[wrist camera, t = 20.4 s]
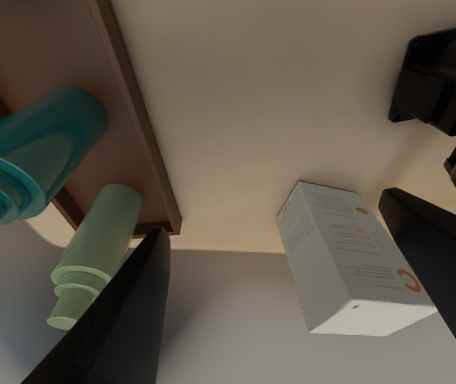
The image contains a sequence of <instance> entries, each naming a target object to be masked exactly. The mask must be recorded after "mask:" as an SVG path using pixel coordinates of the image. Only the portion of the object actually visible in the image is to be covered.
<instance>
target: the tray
mask: <svg viewBox="0 0 456 384" xmlns="http://www.w3.org/2000/svg"><path fill="white" fill-rule="evenodd" d="M60 86H70V87H75V88H78V89H81V90H83V91H85V92H87V93H88V94H90V95H91V96H92V97H94V98H95V99H96V100H97V101H98V102H99V103H100V105H101V106H102V108H103V109H104V111H105V113H106V116H107V120H108V127H107V131H106V133H105V134H104V135H103V137H102V138H101V139H100V140H99V142H98V143H97V144H96V145H95V147H94V148H93V149H92V150H91V152H90V153H89V154H88V156H87V157H86V158H85V159H84V161H83V162H82V163H81V164H80V166H79V167H78V168H77V169H76V171H75V172H74V173H73V174H72V176H71V177H70V178H69V179H68V181H67V182H66V183H65V184H64V186H63V187H62V188H61V189H60V191H59V192H58V193H57V194H56V196H55V197H54V198H53V199H52V201H51V202H52V203H53V204H54V205H55V207H56V208H57V209H58V210H59V212H60V213H61V214H62V215H63V217H64V218H65V219H66V220H67V221H68V223H69V224H70V225H71V226H72V228H73V229H74V230H75V231H76V230H77V229H78V227H79V225H80V224H81V222H82V220H83V219H84V217H85V215H86V213H87V212H88V210H89V208H90V207H91V205H92V203H93V202H94V200H95V198H96V196H97V195H98V193H99V191H100V190H101V189H102V188H103V187H104V186H106V185H109V184H123V185H127V186H129V187H131V188H133V189H135V190H136V191H137V192H138V193H139V194H140V195H141V197H142V199H143V207H142V210H141V213H140V216H139V219H138V222H137V225H136V228H135V231H134V234H133V237H132V239H138V238H145V237H146V235H147V234H148V233H149V232H150V230H151V229H152V228H154V227H160V226H161V227H163V228H164V229H165V231H166V233H167V235H168V236H170V235H179V234H180V229H181V222H182V219H181V216H180V213H179V210H178V207H177V204H176V201H175V198H174V194H173V191H172V188H171V185H170V182H169V179H168V176H167V173H166V170H165V167H164V164H163V161H162V158H161V154H160V151H159V148H158V145H157V142H156V139H155V136H154V133H153V130H152V127H151V124H150V121H149V118H148V114H147V111H146V108H145V105H144V102H143V99H142V96H141V93H140V90H139V87H138V84H137V81H136V78H135V74H134V71H133V68H132V65H131V62H130V59H129V56H128V53H127V50H126V47H125V44H124V41H123V38H122V34H121V31H120V28H119V25H118V22H117V19H116V16H115V13H114V10H113V7H112V4H111V1H110V0H22V1H20V2H15V3H0V120H1V119H2V118H4V117H6V116H7V115H9V114H11V113H13V112H14V111H16V110H18V109H20V108H21V107H23V106H25V105H26V104H28V103H30V102H32V101H33V100H35V99H37V98H39V97H40V96H42V95H44V94H46V93H47V92H49V91H51V90H52V89H54V88H57V87H60Z"/></svg>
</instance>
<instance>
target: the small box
mask: <svg viewBox="0 0 456 384" xmlns="http://www.w3.org/2000/svg"><path fill="white" fill-rule="evenodd" d="M276 220H277V224H278V227H279V231H280V234H281V238H282V241H283V245H284V248H285V252H286V255H287V259H288V262H289V265H290V269H291V272H292V276H293V279H294V283H295V286H296V289H297V293H298V297H299V300H300V304H301V307H302V311H303V314H304V317H305V321H306V324H307V327H308V331H309V333H328V334H349V335H369V336H387V335H389V334H391V333H393V332H395V331H397V330H400V329H402V328H404V327H406V326H408V325H410V324H412V323H414V322H416V321H419V320H420V319H422V318H424V317H426V316H429V315H431V314H433V313H435V312H437V311H438V310H437V308H436V307H435V305H434V304H433V302H432V300H431V299H430V297H429V296H428V294H427V293H426V291H425V289H424V288H423V286H422V285H421V283H420V281H419V280H418V278H417V277H416V275H415V273H414V272H413V270H412V269H411V267H410V266H409V264H408V262H407V261H406V259H405V258H404V256H403V254H402V253H401V251H400V250H399V248H398V247H397V246H396V244H395V243H394V241H393V240H392V239H391V237H390V236H389V234H388V233H387V232H386V230H385V229H384V228H383V226H382V225H381V223H380V222H379V221H378V219H377V218H376V217H375V215H374V214H373V212H372V211H371V210H370V208H369V207H368V206H367V204H366V203H365V201H364V200H363V199H362V197H361V196H360V194H358V193H353V192H348V191H344V190H339V189H334V188H329V187H325V186H320V185H315V184H310V183H305V182H300V181H299V182H298V183H297V185H296V186H295V188H294V190H293V191H292V193H291V195H290V196H289V198H288V200H287V201H286V203H285V205H284V206H283V208H282V210H281V211H280V213H279V215H278V217H277V218H276Z"/></svg>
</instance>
